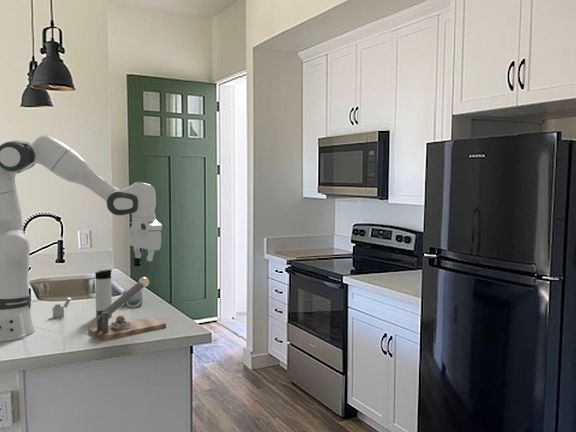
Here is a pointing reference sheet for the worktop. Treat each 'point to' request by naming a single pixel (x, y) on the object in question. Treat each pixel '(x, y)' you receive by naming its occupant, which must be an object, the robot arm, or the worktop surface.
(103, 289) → the travel mug
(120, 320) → the walnut
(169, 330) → the worktop surface
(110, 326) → the nutcracker base
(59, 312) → the lighter
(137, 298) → the ceramic mug
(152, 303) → the worktop surface
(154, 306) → the worktop surface
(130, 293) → the lever
